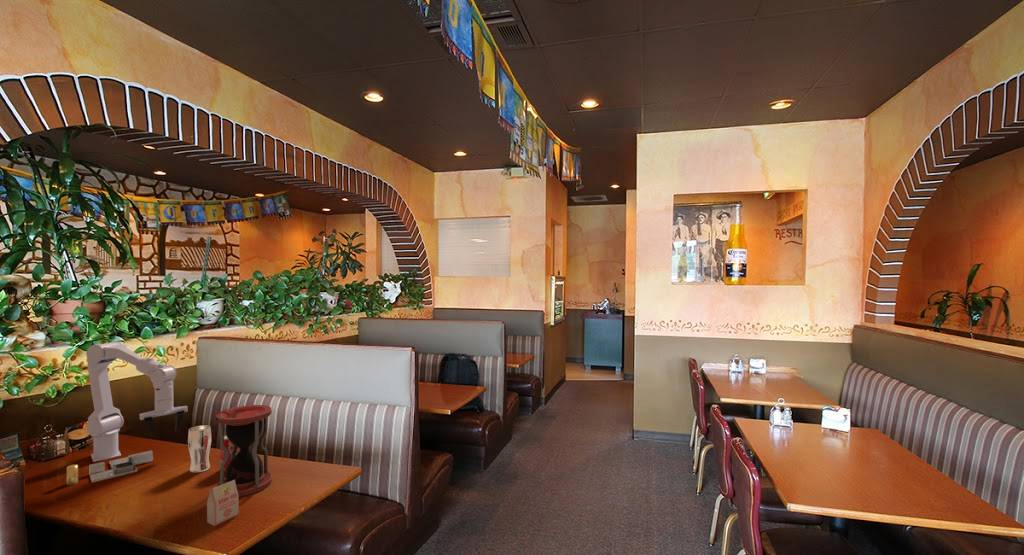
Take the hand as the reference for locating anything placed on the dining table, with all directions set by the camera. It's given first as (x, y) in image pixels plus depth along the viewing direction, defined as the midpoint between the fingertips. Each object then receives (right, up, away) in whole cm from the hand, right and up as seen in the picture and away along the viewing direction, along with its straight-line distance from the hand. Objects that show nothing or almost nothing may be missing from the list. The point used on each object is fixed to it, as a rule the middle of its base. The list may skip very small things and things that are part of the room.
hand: (164, 434), depth 176 cm
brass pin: (-16, -10, -21) cm, 27 cm away
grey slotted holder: (-10, -9, -3) cm, 14 cm away
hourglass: (+44, -10, -22) cm, 50 cm away
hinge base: (-9, -10, -13) cm, 18 cm away
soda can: (+31, -10, -9) cm, 34 cm away
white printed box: (+49, -10, -42) cm, 66 cm away
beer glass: (+20, -10, -9) cm, 24 cm away
